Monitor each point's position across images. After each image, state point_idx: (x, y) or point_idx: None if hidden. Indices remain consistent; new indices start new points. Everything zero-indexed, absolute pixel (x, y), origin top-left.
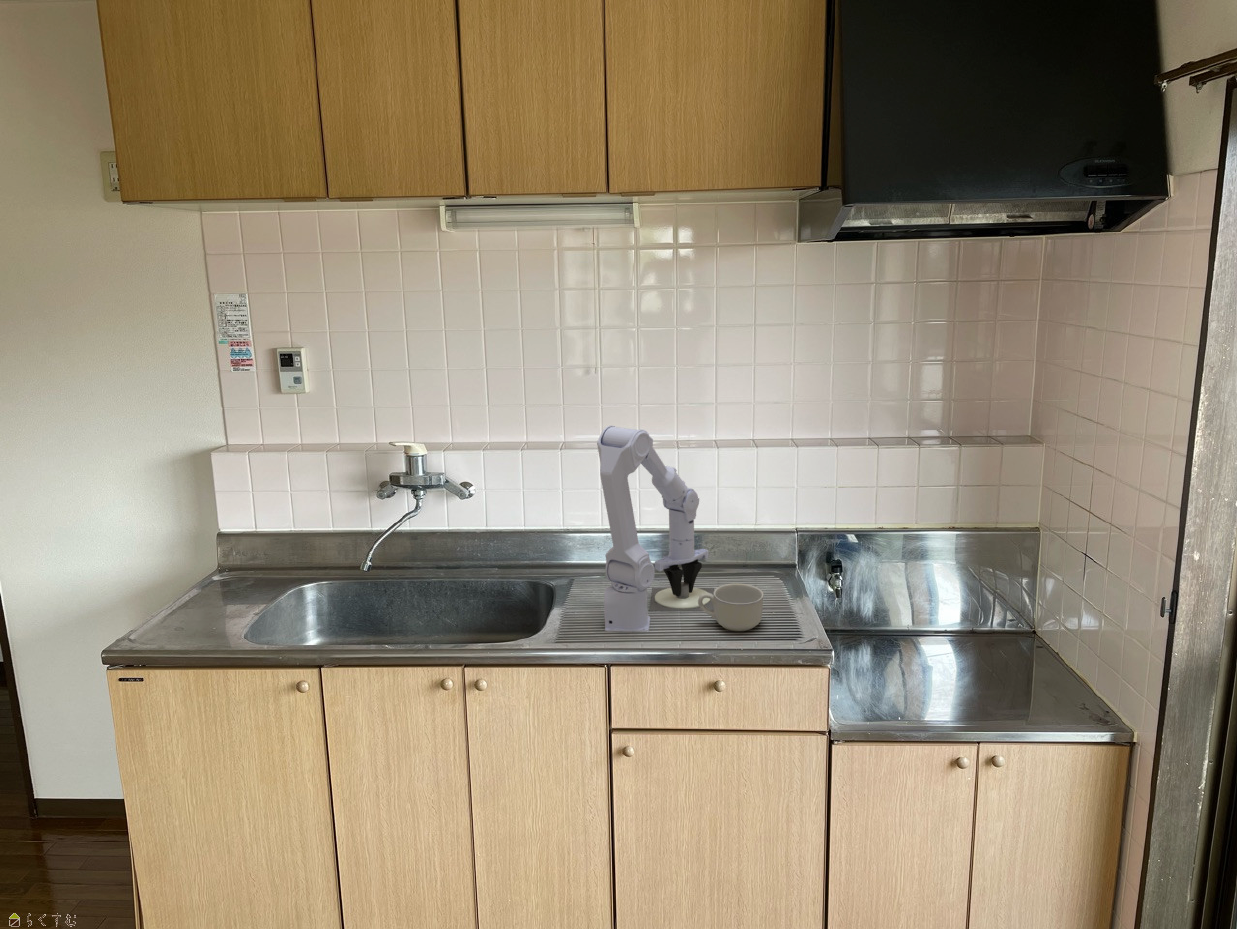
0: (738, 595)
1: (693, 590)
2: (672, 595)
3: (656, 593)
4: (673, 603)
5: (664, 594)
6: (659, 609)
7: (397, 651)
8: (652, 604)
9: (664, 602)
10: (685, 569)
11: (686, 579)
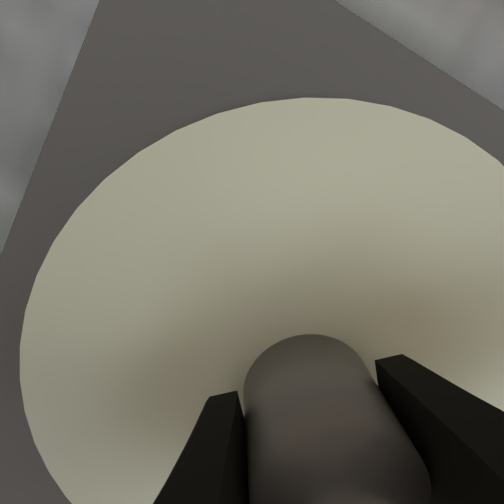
0: None
1: (490, 295)
2: (229, 328)
3: (122, 120)
4: (149, 500)
5: (162, 266)
6: (8, 501)
7: None
8: None
9: (78, 452)
10: None
11: (460, 498)
